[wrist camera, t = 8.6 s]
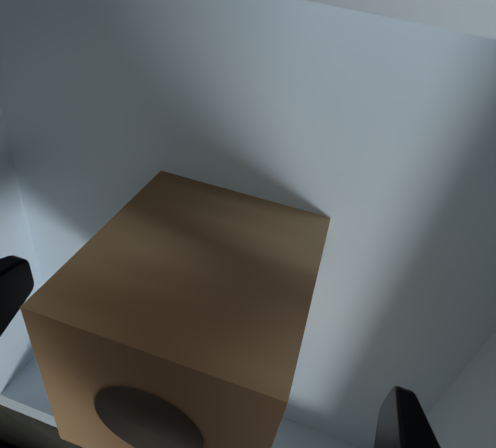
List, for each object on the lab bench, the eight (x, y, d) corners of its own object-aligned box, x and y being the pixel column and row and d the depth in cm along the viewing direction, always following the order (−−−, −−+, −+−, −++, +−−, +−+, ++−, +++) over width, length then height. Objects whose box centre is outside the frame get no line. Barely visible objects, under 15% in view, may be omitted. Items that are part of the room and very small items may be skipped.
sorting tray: (49, 328, 18) (-14, 398, 15) (-67, -146, 8) (-292, -190, 6) (405, 458, 15) (408, 570, 13) (794, 4, 6) (1128, 54, 3)
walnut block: (160, 290, 13) (59, 440, 9) (160, 170, 10) (17, 309, 6) (293, 334, 12) (246, 517, 8) (330, 217, 10) (287, 405, 6)
